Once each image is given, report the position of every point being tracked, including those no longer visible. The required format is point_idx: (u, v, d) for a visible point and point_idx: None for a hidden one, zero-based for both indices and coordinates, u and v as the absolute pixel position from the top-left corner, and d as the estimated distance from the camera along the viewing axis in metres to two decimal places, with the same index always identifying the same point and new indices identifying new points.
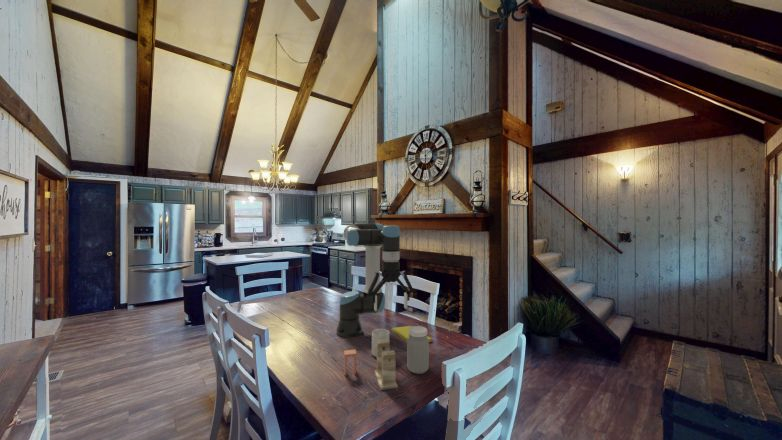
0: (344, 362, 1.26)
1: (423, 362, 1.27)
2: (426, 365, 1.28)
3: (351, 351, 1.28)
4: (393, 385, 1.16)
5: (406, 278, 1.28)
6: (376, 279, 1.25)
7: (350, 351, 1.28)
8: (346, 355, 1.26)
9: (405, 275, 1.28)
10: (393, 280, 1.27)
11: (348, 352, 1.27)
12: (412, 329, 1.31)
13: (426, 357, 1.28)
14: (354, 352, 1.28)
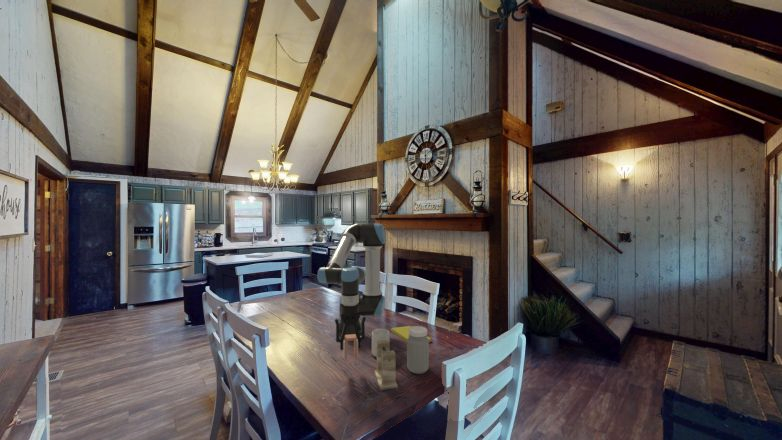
0: None
1: (423, 362, 1.27)
2: (426, 365, 1.28)
3: (351, 335, 1.29)
4: (393, 385, 1.16)
5: (363, 324, 1.28)
6: (337, 326, 1.25)
7: (350, 335, 1.29)
8: (346, 339, 1.26)
9: (363, 321, 1.28)
10: (352, 323, 1.27)
11: (348, 336, 1.28)
12: (412, 329, 1.31)
13: (426, 357, 1.28)
14: (354, 336, 1.28)
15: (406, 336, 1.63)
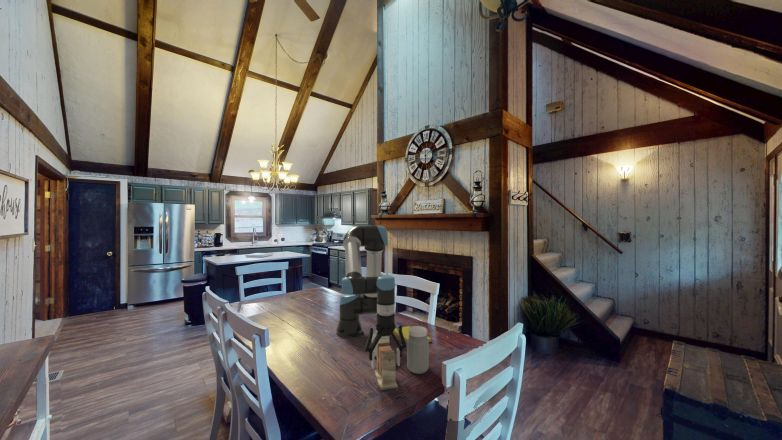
0: (380, 359, 1.21)
1: (423, 362, 1.27)
2: (426, 365, 1.28)
3: (386, 347, 1.23)
4: (393, 385, 1.16)
5: (401, 333, 1.23)
6: (371, 335, 1.20)
7: (385, 347, 1.23)
8: None
9: (400, 329, 1.23)
10: (388, 334, 1.21)
11: (383, 349, 1.22)
12: (412, 329, 1.31)
13: (426, 357, 1.28)
14: (390, 348, 1.22)
15: (406, 336, 1.63)
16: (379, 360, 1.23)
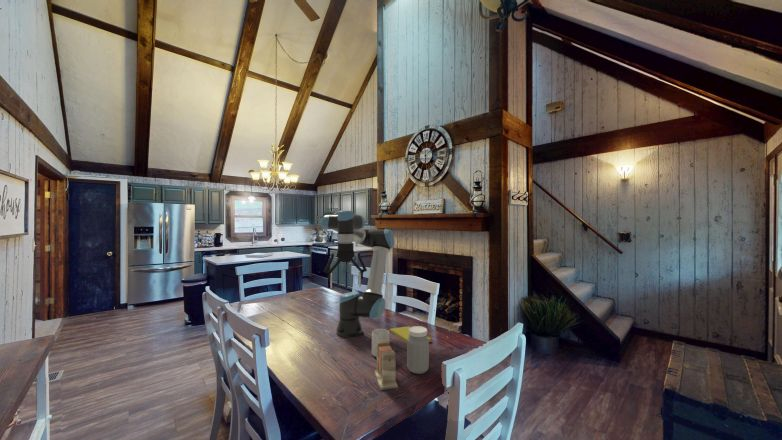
0: (380, 359, 1.21)
1: (423, 362, 1.27)
2: (426, 365, 1.28)
3: (386, 347, 1.23)
4: (393, 385, 1.16)
5: (359, 259, 1.40)
6: (331, 259, 1.37)
7: (385, 347, 1.23)
8: (382, 351, 1.20)
9: (359, 256, 1.40)
10: (347, 260, 1.39)
11: (383, 349, 1.22)
12: (412, 329, 1.31)
13: (426, 357, 1.28)
14: (390, 348, 1.22)
15: (405, 336, 1.63)
16: (379, 360, 1.22)
